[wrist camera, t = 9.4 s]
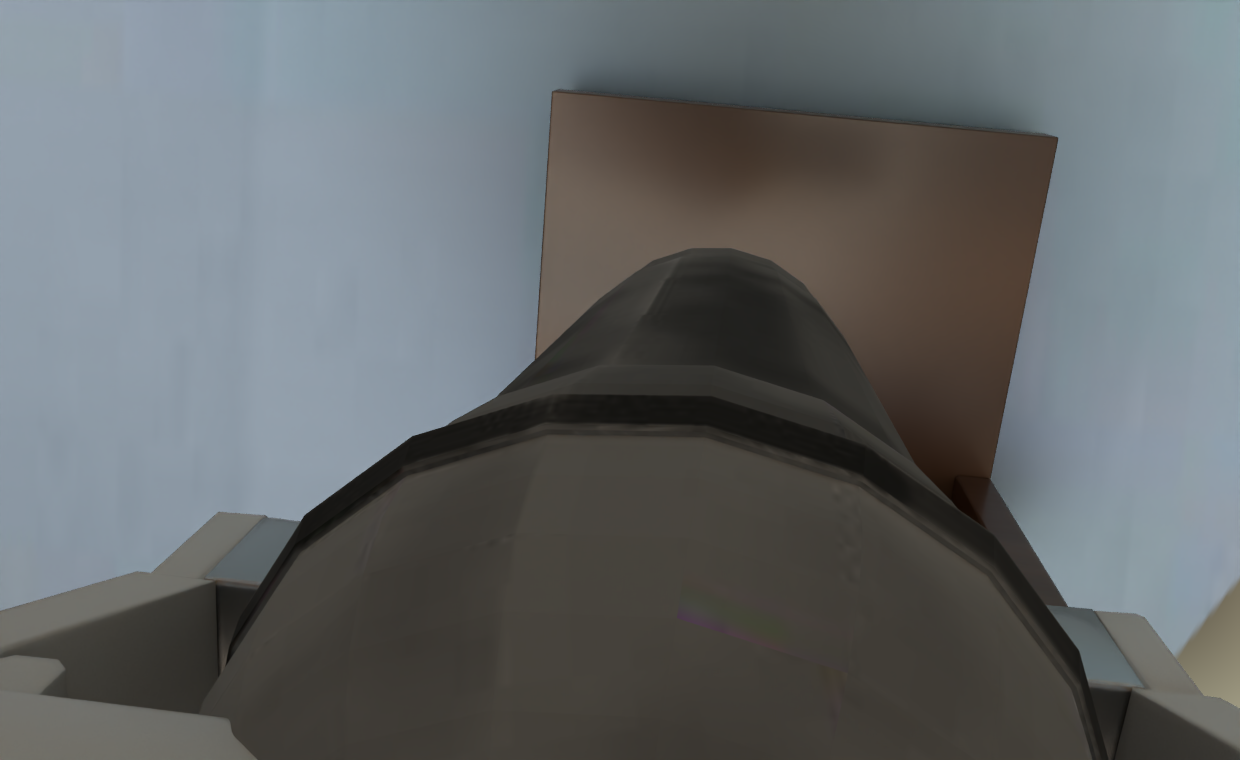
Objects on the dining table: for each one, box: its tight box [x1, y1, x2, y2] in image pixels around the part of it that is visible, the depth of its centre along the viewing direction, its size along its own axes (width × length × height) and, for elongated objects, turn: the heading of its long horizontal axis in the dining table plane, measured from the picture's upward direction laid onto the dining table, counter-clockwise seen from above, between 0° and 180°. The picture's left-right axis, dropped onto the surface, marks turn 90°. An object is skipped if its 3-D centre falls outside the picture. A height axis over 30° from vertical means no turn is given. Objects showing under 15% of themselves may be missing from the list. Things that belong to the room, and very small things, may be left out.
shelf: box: [535, 89, 1068, 607], centre depth 33 cm, size 15×16×15 cm
